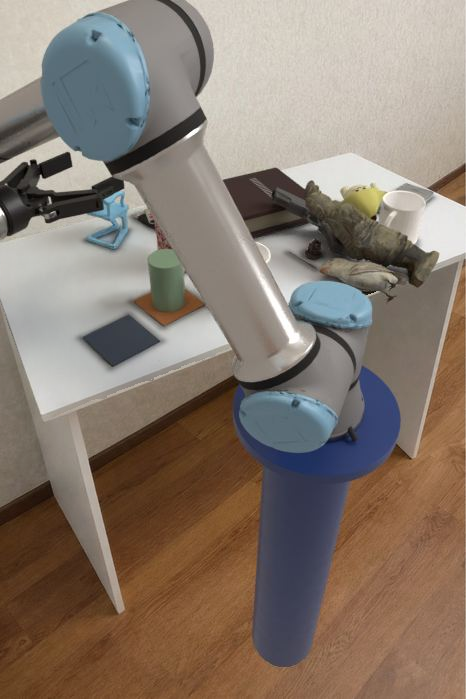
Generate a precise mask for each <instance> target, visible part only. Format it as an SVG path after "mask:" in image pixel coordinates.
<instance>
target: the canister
mask: <svg viewBox="0 0 466 699" xmlns="http://www.w3.org/2000/svg"><path fill="white" fill-rule="evenodd" d="M147 266H148V275H149V276H148V277H149V286H150V292H151V296H152V304H153V306H154V308H155V309H157V310H159V311H162V312H173V311H177V310H179V309H181V308H182V307H183V306H184V304H185V289H186V287H185V286H186V285H185V272H184V269H183V266H182V264H181V263H180V261H179V259H178V258H177V256H176V254H175V253H174V251H173V250H172V249H161V250H157V249H156V250H154V251H152V252H150V254H149V255H148V256H147Z"/></svg>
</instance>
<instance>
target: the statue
mask: <svg viewBox="0 0 466 699" xmlns="http://www.w3.org/2000/svg"><path fill="white" fill-rule="evenodd" d="M304 189H305V190H304V194H305V197H306V201H305V202H306V204H305V206H306V208H308V210H309V211H310V212H311V213H312V214H313V215H315V216H316V217H317V218H319V219H321V220H324V221H326V222H327V223H328V225H329V227H330V229H331V231H333V233H334V234H335V237H336V238H337V239H339V240H340V242H341V243H342V244H343V246H345V248H346V253H347V255H348V256H347V257H348V258H350V259H352V260H356V261H357V262H361V261H363V260H364V262H370V263H375V264H379V265H381V266H383V267H385V268H387V269H388V268H389V267H390V266H392V267H394V268H398V269H404V270H406V271H407V274H406V275H407V276H408V278H409V280H408V284H409V285H411V286H413V287H416V288H420V287H421V286H422V285H423V284H424V283H425V281H426V280H427V279H428V277H429V276H430V274H431V273H432V271H433V270H434V268H435V266H436V265H437V263H438V261H439V258H440V252H439V251H437V250H432V251H429V252H427V251H426V250H425V251H424V250H423V249H421V247H419V246H417V245H416V244H413V243H412V241H410V240H408V236H407V235H404V234H401V232H400V231H396V230H393V229H391V228H389V227H386V226H385V225H383V224H380V223H379V222H378V221H377V220H376V221H375V220H372V219H369V218H368V217H367V216H366V215H364V214H363V213H361V212H360V211H359V210H358V208H357V207H356V206H353V205H352V204H350V203H348V202H342V203H341V201H339V200H337V199H334V200H332V197H330V196H329V195H327V194H325V193H323V192H322V190H320V186H319V185H317V184H316V183H315V181H314V180H312V179H311V180H309V181H307V183H306V185H305V188H304Z"/></svg>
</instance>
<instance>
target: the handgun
mask: <svg viewBox="0 0 466 699" xmlns="http://www.w3.org/2000/svg"><path fill="white" fill-rule="evenodd" d="M271 200H272V201H273V202H274V203H276V204H278V205H280V206H283V207H285V208H286V211H289V212H291V213H293V214H295V215H297V216H299V217H301V218H303V219H305V220H307V221H308V222H309V223H308V224H311V225H313V226H315V227H317V231H318V232H319V233H320V234H321V235H322V237H323V239H324V242H325V244H326V246H327V248H328V251H329V252H330V253H332V254H334V255H337V256H338V257H339V256H340V257H342V258H343V257H344V258H346V257H348V255H347V253H346V248H345V246H343V244H342V243H341V242H340V240H339V239H337V238H336V237H335V234H334V233H333V231H331V229H330V227H329V225H328V223H327V222H326V221H324V220H321V219H319V218H317V217H316V216H315V215H313V214H312V213H311V212H310V211H309V210H308V208H306V206H305V204H306V202H305V200H303V199H301V198H299V197H297V196H294V195H292V194H290V193H288V192H286V191H284V190H282V189H280V188H278V187H276V189H275V190H274V191H273V192H272V196H271Z"/></svg>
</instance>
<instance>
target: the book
mask: <svg viewBox="0 0 466 699" xmlns="http://www.w3.org/2000/svg"><path fill="white" fill-rule="evenodd" d="M222 180H223V182H224V184H225V186H226V188H227V190H228V192H229V193H230V195H231V197H232V199H233V201H234V203H235V205H236V207H237V209H238V211H239V212H240V214H241V216H242V218H243V220H244V222H245V224H246V226H247V228H248V230H249V232H250V233H251V235H252V237H253V239H255V238H259V237H263V236H266V235H269V234H273V233H277V232H280V231H285V230H287V229H291V228H295V227H300V226H302V225H306V224H310V223H309V222H308V221H307V220H305V219H303V218H301V217H299V216H297V215H295V214H293V213H291V212H289V211H286V208H285V207H283V206H280V205H278V204H276V203H274V202H273V201H272V200H271V196H272V192H273V191H274V190H275V189H276V187H278V188H280V189H282V190H284V191H286V192H288V193H290V194H292V195H294V196H297V197H299V198H301V199H303V200H305V201H306V197H305V194H304V190H305V188H304V187H303V186H302V185H300V184H299V183H298V182H296V181H295V180H293V179H292V177H290V176H289V175H287V174H286V173H285V172H283V171H282V170H281V169H279V168H278V167H272V168H267V169H262V170H259V171H254V172H250V173H246V174H242V175H237V176H233V177H228V178H224V179H223V178H222Z"/></svg>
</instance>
